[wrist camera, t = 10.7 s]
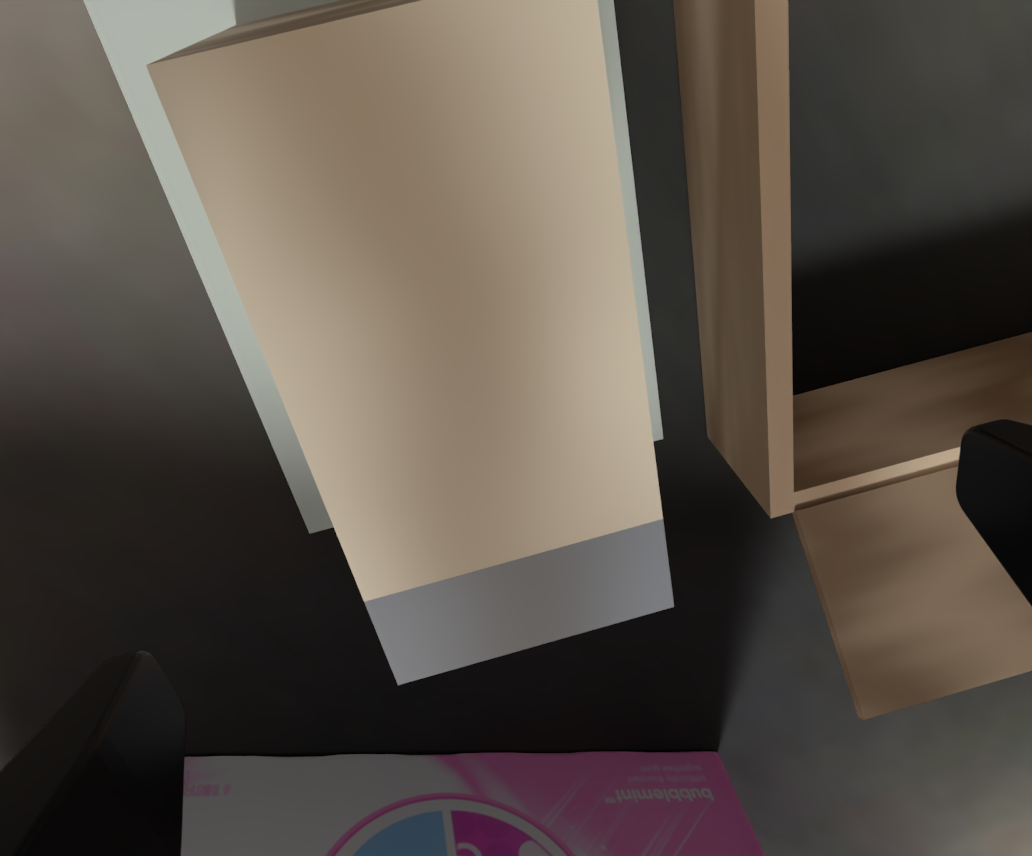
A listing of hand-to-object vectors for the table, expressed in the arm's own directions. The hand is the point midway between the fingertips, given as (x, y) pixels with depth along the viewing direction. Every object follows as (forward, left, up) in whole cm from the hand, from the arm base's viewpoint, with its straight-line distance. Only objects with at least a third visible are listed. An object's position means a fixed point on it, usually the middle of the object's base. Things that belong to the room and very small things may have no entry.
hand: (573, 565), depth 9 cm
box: (+1, 0, -11) cm, 11 cm away
